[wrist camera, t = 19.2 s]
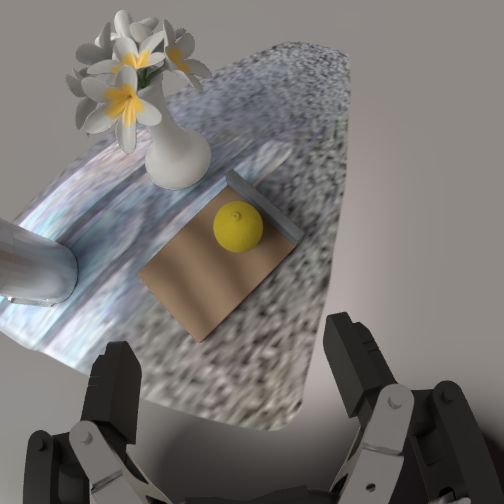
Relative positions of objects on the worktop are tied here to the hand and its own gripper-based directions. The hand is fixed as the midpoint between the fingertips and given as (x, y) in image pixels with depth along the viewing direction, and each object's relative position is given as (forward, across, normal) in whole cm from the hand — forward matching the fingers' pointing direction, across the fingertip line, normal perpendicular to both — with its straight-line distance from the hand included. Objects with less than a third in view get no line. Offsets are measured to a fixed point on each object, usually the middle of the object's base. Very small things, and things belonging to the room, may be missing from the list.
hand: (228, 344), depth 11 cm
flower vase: (+34, -5, -2) cm, 35 cm away
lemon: (+24, +2, -9) cm, 26 cm away
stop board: (+24, -1, -12) cm, 27 cm away
